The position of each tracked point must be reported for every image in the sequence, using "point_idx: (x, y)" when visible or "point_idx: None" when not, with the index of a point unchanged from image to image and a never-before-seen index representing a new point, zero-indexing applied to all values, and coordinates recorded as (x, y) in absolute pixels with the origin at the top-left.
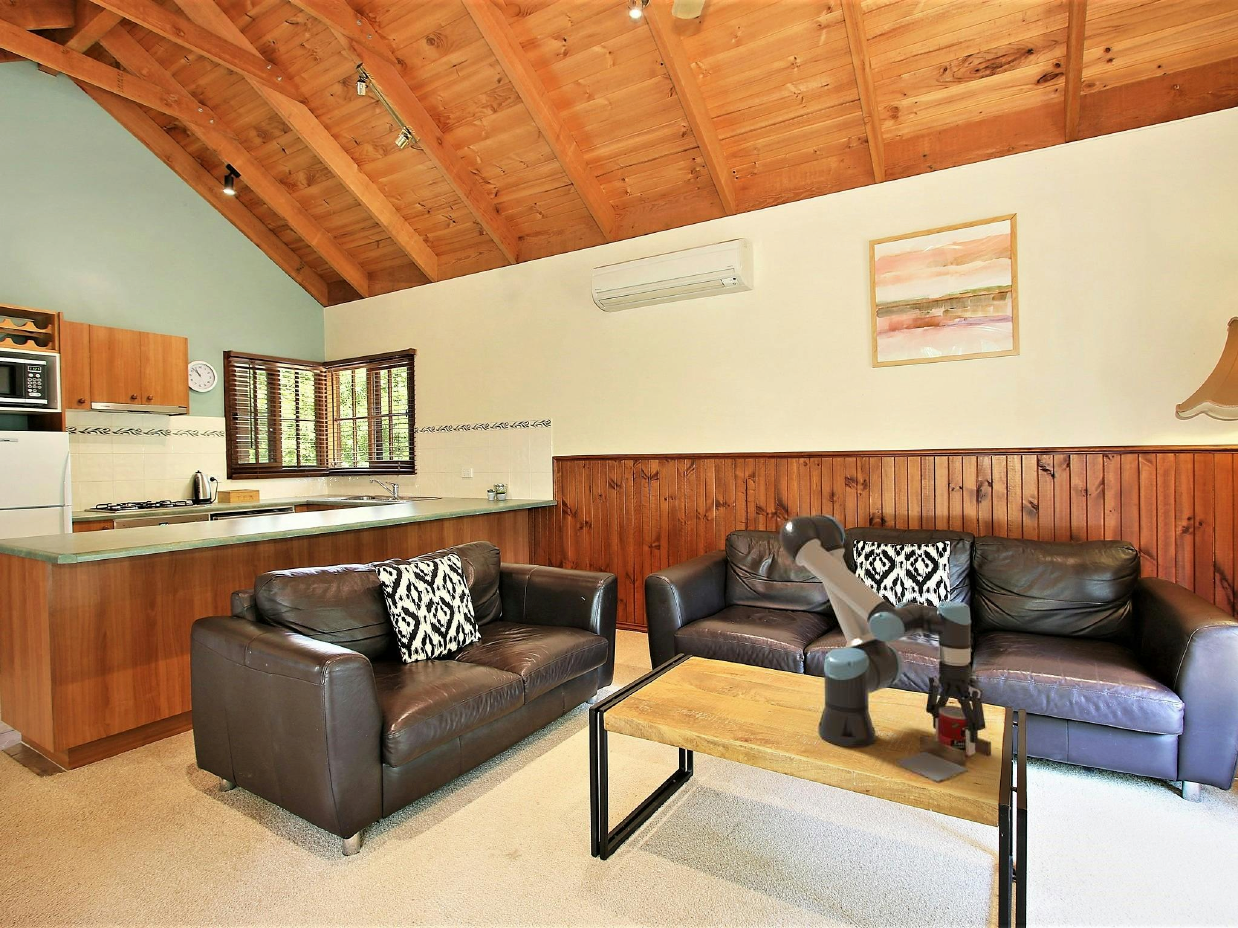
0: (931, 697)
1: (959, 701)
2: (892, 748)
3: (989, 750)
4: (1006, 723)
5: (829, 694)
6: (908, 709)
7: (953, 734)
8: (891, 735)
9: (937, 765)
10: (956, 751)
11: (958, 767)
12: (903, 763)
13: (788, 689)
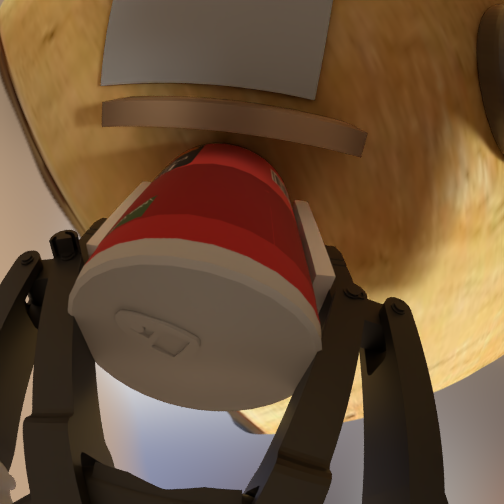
0: (409, 405)
1: (49, 428)
2: (421, 58)
3: None
4: (236, 412)
5: None
6: None
7: (163, 179)
8: (457, 181)
9: (195, 6)
10: (133, 101)
11: (128, 64)
12: None
13: None
